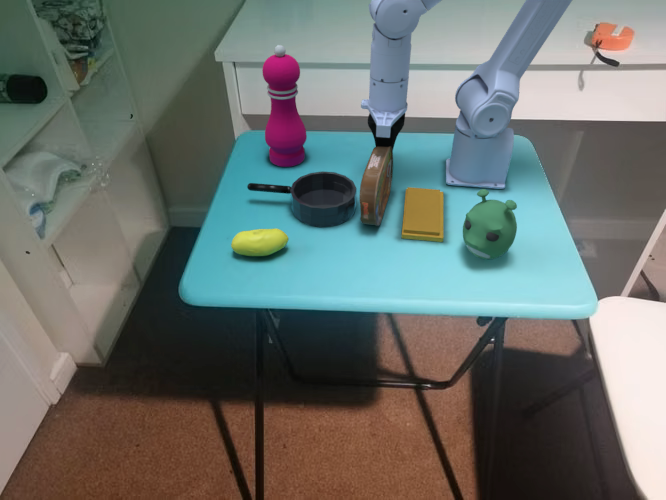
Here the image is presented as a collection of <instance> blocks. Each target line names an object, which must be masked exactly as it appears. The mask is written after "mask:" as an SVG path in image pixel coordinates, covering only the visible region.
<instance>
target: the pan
mask: <svg viewBox="0 0 666 500" xmlns="http://www.w3.org/2000/svg"><path fill="white" fill-rule="evenodd" d="M290 187H291V189H290V207H291V212H292V214H293V216H294V217H295V218H296V219H297V220H298V221H300V222H301V223H303V224H306V225H309V226H311V227H317V228H318V227H319V228H329V227H334V226H339V225H342V224H344V223H346V222H348V221H349V220H350V219H351V218H352V217H353V216H354V215H355V212H356V209H357V190H358V189H357V186H356V184H355V182H354V181H353V180H352V179H351V178H350V177H348V176H346V175H345V174H341V173H338V172H335V171H316V172H310V173H307V174H304V175H302V176H300V177H299V178H297V179H296V180H295V181H294V182H292V185H291V186H290Z"/></svg>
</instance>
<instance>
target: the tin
mask: <svg viewBox="0 0 666 500" xmlns="http://www.w3.org/2000/svg"><path fill="white" fill-rule="evenodd" d="M393 172H394V149H393V150H392V147H391V146H390V147H376V146H374V147H373V148H372V151H371V153H370V156H369V158H368V160H367V163H366V166H365V169H364V171H363V174H362V177H361V181H360V186H359V187H360V188H359V198H358V199H359V200H358V201H359V206H360V207H359V209H360V210H359V211H360V218H359V219H360V222H361V223H362V224H364V225H371V226H376V227H379V226H380V225H381V223H382V220H383V218H384V214H385V210H386V207H387V204H388V201H389V198H390V195H391V190H392V184H393Z"/></svg>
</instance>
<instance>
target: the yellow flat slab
mask: <svg viewBox="0 0 666 500" xmlns="http://www.w3.org/2000/svg"><path fill="white" fill-rule="evenodd" d="M403 207H404V208H403V216H402V227H401V239H403V240H404V239H405V240H415V241H427V242H435V243H437V242H438V243H443V242H444V233H445V231H444V229H445V228H444V225H445V224H444V191H441V189H436V188H435V189H434V188H423V187H410V186H408V187H407V188H405V194H404V206H403Z"/></svg>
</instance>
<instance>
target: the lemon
mask: <svg viewBox="0 0 666 500" xmlns="http://www.w3.org/2000/svg"><path fill="white" fill-rule="evenodd" d="M289 239H290V238H289V236H288V234H287V233H286V232H284V231H283V230H282V229H280V228H258V229H250V230H242V231H239V232H237V233H236V234H235V235H234V236H233V238H232V240H231V243H230V246H231V249H232V251H234V253H236V254H238V255H241V256H247V257H267V256H270V255H272V254H274V253H277V252H279V251H281V250H282V249H284V247H286V246H287V244H288V243H289Z"/></svg>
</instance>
